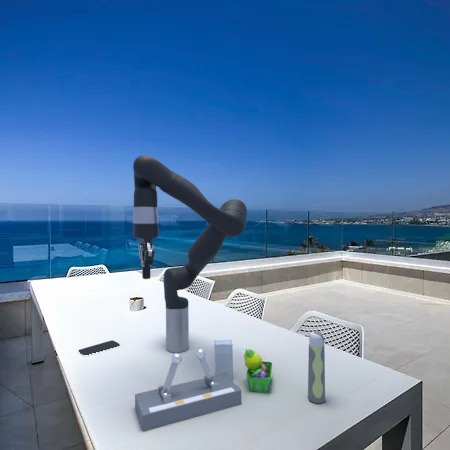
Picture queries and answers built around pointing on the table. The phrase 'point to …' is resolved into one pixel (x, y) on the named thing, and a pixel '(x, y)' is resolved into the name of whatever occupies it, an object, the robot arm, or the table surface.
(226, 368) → the skincare box
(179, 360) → the switch near
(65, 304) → the table surface
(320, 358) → the camo grip handle
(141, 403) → the switch console
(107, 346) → the phone
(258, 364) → the fruit basket
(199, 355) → the switch far
